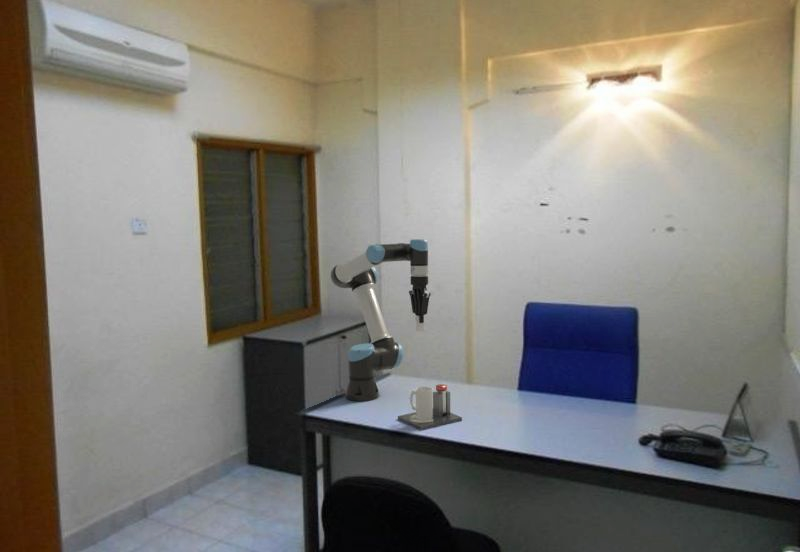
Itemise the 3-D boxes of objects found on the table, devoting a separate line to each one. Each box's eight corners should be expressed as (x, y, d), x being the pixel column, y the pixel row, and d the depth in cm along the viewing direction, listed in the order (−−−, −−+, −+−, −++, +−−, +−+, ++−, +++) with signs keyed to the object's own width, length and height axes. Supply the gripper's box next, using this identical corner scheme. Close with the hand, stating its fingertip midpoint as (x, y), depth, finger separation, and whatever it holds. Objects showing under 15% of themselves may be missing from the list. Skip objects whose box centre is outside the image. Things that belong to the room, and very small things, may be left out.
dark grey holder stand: (397, 419, 242) (397, 394, 241) (437, 410, 252) (437, 386, 252) (420, 430, 228) (420, 404, 227) (461, 420, 239) (461, 395, 238)
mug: (436, 417, 238) (436, 388, 237) (427, 422, 233) (427, 392, 232) (415, 413, 244) (414, 384, 243) (405, 418, 238) (405, 388, 237)
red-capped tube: (434, 411, 244) (433, 385, 243) (442, 409, 246) (442, 383, 245) (440, 414, 240) (440, 387, 239) (449, 411, 243) (449, 386, 242)
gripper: (403, 275, 260) (404, 329, 262) (420, 277, 249) (421, 333, 251) (417, 274, 264) (418, 327, 266) (435, 276, 253) (436, 331, 255)
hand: (419, 330), depth 258 cm, fingers closed
